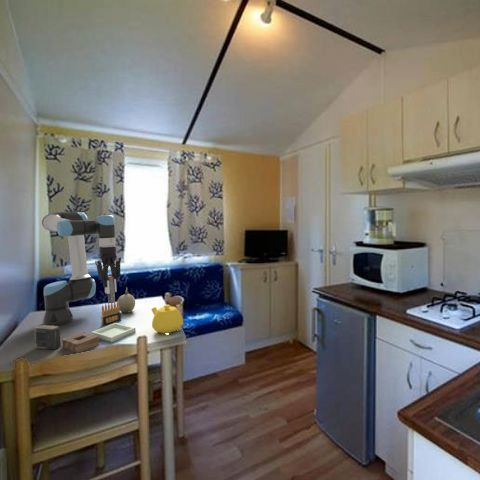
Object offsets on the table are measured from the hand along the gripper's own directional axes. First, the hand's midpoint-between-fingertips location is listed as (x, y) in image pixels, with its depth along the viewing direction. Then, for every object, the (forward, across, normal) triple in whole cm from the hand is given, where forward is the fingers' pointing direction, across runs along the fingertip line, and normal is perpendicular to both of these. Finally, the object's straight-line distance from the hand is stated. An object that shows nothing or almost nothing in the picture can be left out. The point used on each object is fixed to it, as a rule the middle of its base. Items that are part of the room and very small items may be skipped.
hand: (110, 292), depth 146 cm
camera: (+22, -24, +15) cm, 36 cm away
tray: (+22, 0, 0) cm, 22 cm away
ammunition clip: (+22, +10, +16) cm, 29 cm away
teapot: (+22, +16, -20) cm, 34 cm away
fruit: (+22, +27, +24) cm, 42 cm away
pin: (+5, 0, 0) cm, 5 cm away
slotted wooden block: (+22, -16, +2) cm, 27 cm away
